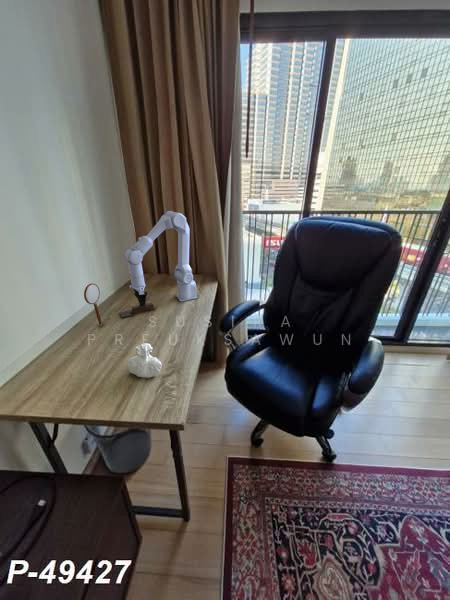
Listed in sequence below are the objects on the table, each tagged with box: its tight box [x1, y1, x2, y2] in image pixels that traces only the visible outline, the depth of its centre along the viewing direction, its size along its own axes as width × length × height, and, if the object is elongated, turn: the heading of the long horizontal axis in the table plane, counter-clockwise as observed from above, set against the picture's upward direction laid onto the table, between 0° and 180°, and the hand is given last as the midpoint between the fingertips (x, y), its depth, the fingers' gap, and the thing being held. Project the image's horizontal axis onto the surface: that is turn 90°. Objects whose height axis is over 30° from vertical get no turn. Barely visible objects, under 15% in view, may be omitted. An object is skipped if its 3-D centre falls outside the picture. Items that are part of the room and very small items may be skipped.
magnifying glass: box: [83, 283, 103, 327], centre depth 106 cm, size 9×2×20 cm, turn 169°
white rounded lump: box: [127, 342, 163, 379], centre depth 83 cm, size 12×8×11 cm
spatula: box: [120, 301, 155, 319], centre depth 120 cm, size 15×5×3 cm, turn 116°
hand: (141, 302), depth 120 cm, fingers open, 7 cm apart
